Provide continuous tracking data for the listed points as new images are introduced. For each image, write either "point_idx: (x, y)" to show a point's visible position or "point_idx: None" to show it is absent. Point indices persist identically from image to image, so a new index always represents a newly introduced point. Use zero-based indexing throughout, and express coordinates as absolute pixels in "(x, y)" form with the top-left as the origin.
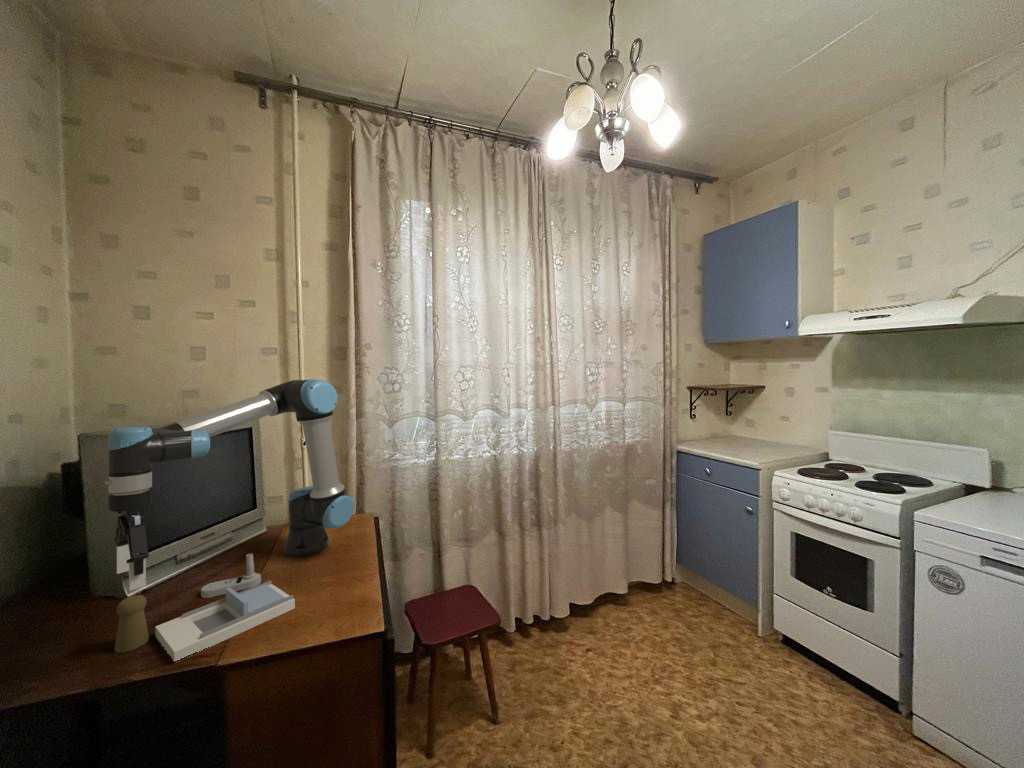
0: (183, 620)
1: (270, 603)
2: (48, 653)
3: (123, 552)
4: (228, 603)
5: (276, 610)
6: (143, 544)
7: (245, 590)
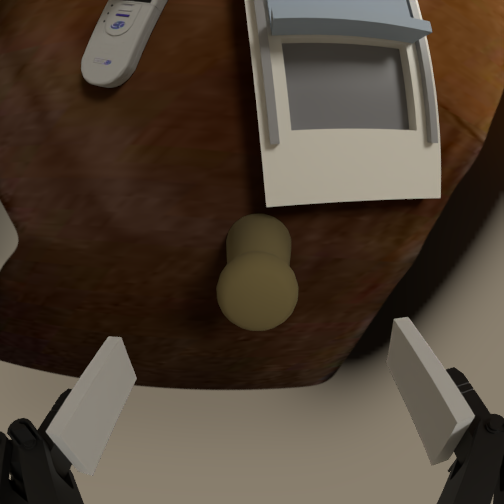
0: (296, 144)
1: None
2: (167, 354)
3: (93, 433)
4: (297, 33)
5: None
6: None
7: None
